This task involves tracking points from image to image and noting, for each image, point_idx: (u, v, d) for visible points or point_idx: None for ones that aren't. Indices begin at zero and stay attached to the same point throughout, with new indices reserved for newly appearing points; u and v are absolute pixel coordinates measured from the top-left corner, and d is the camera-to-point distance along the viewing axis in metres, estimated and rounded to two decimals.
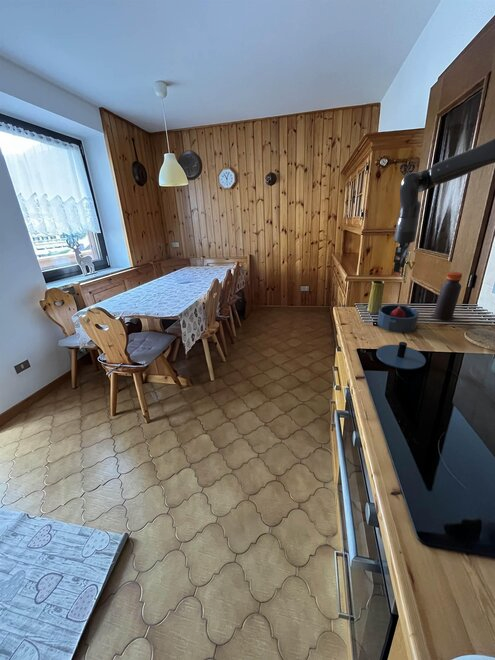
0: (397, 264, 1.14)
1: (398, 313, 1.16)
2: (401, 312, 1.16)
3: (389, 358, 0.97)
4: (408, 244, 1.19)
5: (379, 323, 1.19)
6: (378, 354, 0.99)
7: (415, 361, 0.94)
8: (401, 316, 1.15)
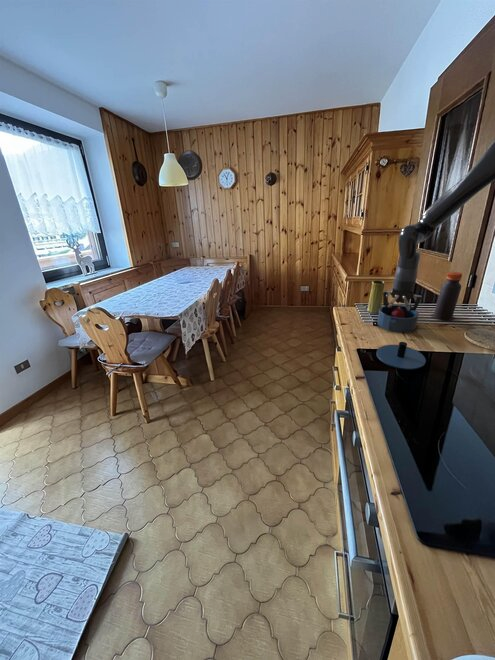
0: None
1: (398, 313, 1.16)
2: (401, 312, 1.16)
3: (389, 358, 0.97)
4: (416, 298, 1.10)
5: (379, 323, 1.19)
6: (378, 354, 0.99)
7: (415, 361, 0.94)
8: (401, 316, 1.15)
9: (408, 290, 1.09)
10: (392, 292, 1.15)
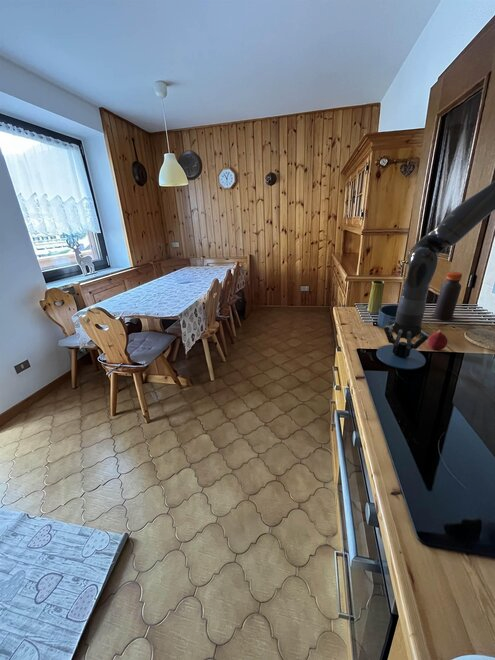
0: None
1: (439, 338, 0.97)
2: (443, 337, 0.97)
3: (389, 358, 0.97)
4: (423, 337, 0.90)
5: (379, 323, 1.19)
6: (378, 354, 0.99)
7: (415, 361, 0.94)
8: (443, 342, 0.97)
9: (414, 325, 0.88)
10: (394, 326, 0.94)
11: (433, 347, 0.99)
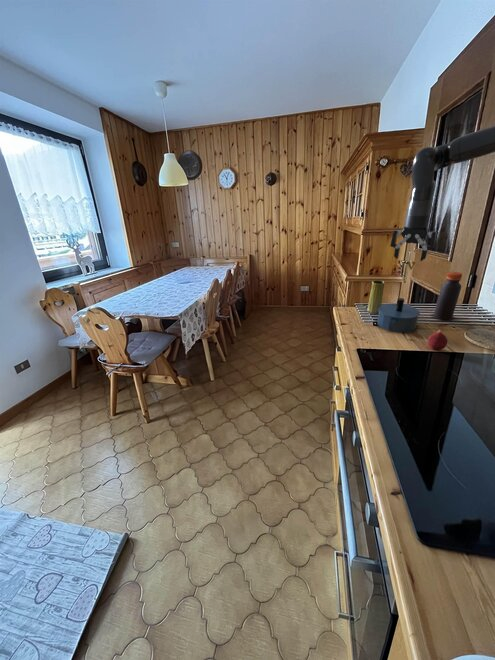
0: None
1: (439, 338, 0.97)
2: (443, 337, 0.97)
3: (389, 312, 1.16)
4: (431, 234, 0.99)
5: (379, 323, 1.19)
6: (380, 309, 1.18)
7: (411, 313, 1.13)
8: (443, 342, 0.97)
9: (421, 226, 0.98)
10: (403, 232, 1.04)
11: (433, 347, 0.99)
